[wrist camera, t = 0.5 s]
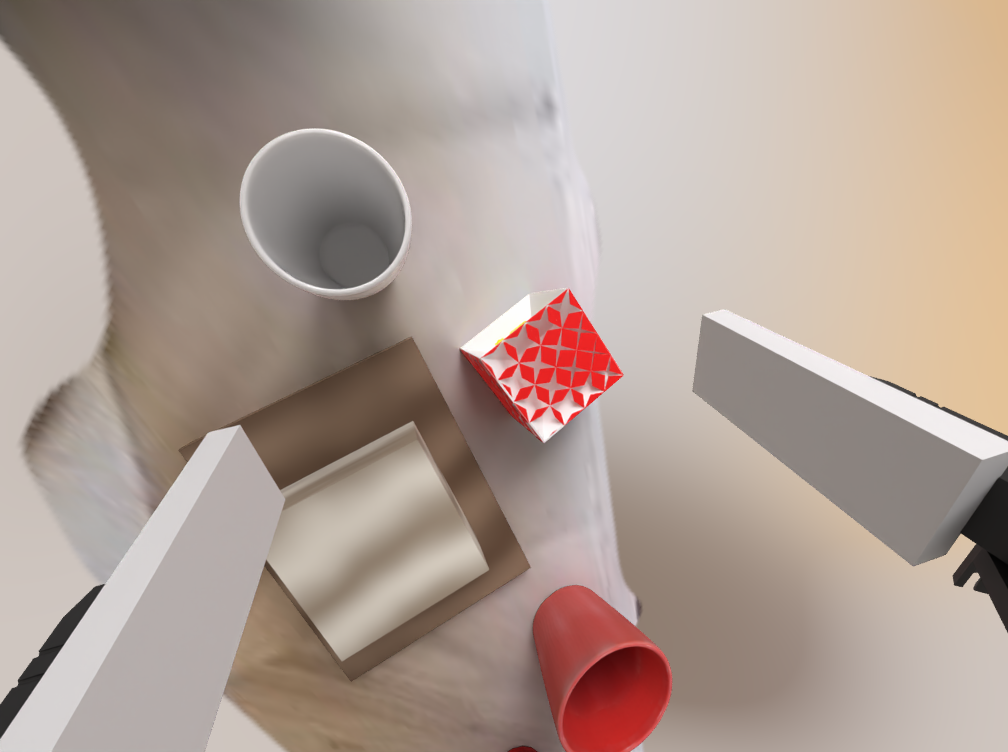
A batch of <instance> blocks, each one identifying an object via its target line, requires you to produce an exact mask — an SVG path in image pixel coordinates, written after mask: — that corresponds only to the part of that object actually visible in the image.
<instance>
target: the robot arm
mask: <svg viewBox="0 0 1008 752" xmlns="http://www.w3.org/2000/svg"><path fill="white" fill-rule="evenodd" d="M693 392H694V393H695V394H697V395H698V396H699V397H700V398H702V399H703V400H704V401H705V402H707V403H708V404H709V405H710V406H712V407H713V408H714V409H716V410H717V411H718V412H719V413H721V414H722V415H723V416H725V417H726V418H727V419H728V420H729V421H731V422H732V423H733V424H734V425H736V426H737V427H738V428H739V429H741V430H742V431H743V432H745V433H746V434H747V435H748V436H749V437H751V438H752V439H753V440H755V441H756V442H757V443H758V444H760V445H761V446H762V447H763V448H765V449H766V450H767V451H768V452H770V453H771V454H772V455H773V456H775V457H776V458H777V459H778V460H780V461H781V462H782V463H784V464H785V465H786V466H787V467H789V468H790V469H791V470H793V471H794V472H795V473H796V474H797V475H799V476H800V477H801V478H802V479H804V480H805V481H806V482H807V483H809V484H810V485H811V486H813V487H814V488H815V489H816V490H818V491H819V492H820V493H821V494H823V495H824V496H825V497H826V498H828V499H829V500H830V501H831V502H833V503H834V504H835V505H836V506H838V507H839V508H840V509H841V510H843V511H844V512H845V513H847V514H848V515H849V516H850V517H851V518H853V519H854V520H855V521H857V522H858V523H859V524H860V525H862V526H863V527H864V528H865V529H867V530H868V531H869V532H870V533H872V534H873V535H874V536H875V537H877V538H878V539H879V540H881V541H882V542H883V543H884V544H886V545H887V546H888V547H889V548H891V549H892V550H893V551H894V552H896V553H897V554H898V555H899V556H901V557H902V558H903V559H905V560H906V561H907V562H908V563H909V564H911V565H912V566H916V565H919V564H921V563H924V562H927V561H930V560H933V559H935V558H938V557H941V556H944V555H946V554H947V552H948V551H949V549H950V548H951V546H952V545H953V544H954V542H955V541H956V539H957V538H958V536H959V535H960V534H963V535H964V536H966V537H967V538H969V539H970V540H972V541H973V542H975V543H976V545H975V546H974V548H973V549H972V551H971V552H970V553H969V554H968V556H967V557H966V558H965V560H964V561H963V562H962V564H961V565H960V566H959V568H958V569H957V570H956V572H955V573H954V575H953V581H954V585H955V586H959V587H963V585H964V584H965V583H966V582H967V580H968V579H969V578H970V576H971V575H972V574H973V573H978V574H979V576H980V579H979V580H978V581H977V582H976V584H975V586H974V590H975V591H978V592H982V593H987V594H989V596H990V598H991V600H992V602H993V604H994V606H995V608H996V610H997V612H998V614H999V616H1000V618H1001V620H1002V622H1003V624H1004V626H1005V628H1006V630H1007V632H1008V436H1007V435H1004V434H1002V433H1000V432H998V431H995V430H993V429H991V428H989V427H987V426H985V425H983V424H980V423H978V422H976V421H974V420H972V419H970V418H967V417H965V416H963V415H961V414H958V413H957V412H954V411H952V410H950V409H948V408H945V407H942V408H940V407H939V406H938V404H937V403H935V402H932V401H930V400H928V399H926V398H924V397H917V396H916V394H915V393H913V392H911V391H909V390H906V389H904V388H902V387H900V386H898V385H895V384H893V383H891V382H888V381H885V380H881V379H877V378H874V377H871V376H867V375H865V374H863V373H861V372H859V371H857V370H854V369H852V368H850V367H848V366H846V365H844V364H842V363H839V362H837V361H835V360H833V359H831V358H829V357H826V356H824V355H822V354H820V353H818V352H816V351H814V350H812V349H809V348H807V347H805V346H803V345H801V344H799V343H797V342H794V341H792V340H790V339H788V338H786V337H784V336H781V335H779V334H777V333H775V332H773V331H771V330H769V329H766V328H764V327H762V326H760V325H758V324H756V323H754V322H751V321H749V320H747V319H745V318H743V317H741V316H738V315H736V314H734V313H732V312H730V311H728V310H726V309H724V310H720V311H716V312H711V313H707V314H703V315H702V321H701V329H700V337H699V344H698V352H697V360H696V368H695V375H694V383H693ZM284 502H285V498H284V496H283V495H282V493H281V491H280V490H279V488H278V486H277V485H276V483H275V482H274V480H273V478H272V477H271V475H270V473H269V472H268V470H267V468H266V467H265V465H264V463H263V462H262V460H261V458H260V457H259V455H258V454H257V452H256V450H255V449H254V447H253V445H252V444H251V442H250V440H249V439H248V437H247V435H246V434H245V432H244V430H243V429H242V427H241V425H237V426H233V427H229V428H225V429H220V430H216V431H212V432H208V433H207V435H206V436H205V438H204V439H203V441H202V442H201V444H200V445H199V447H198V448H197V450H196V451H195V453H194V454H193V456H192V457H191V458H190V460H189V461H188V463H187V464H186V466H185V467H184V469H183V470H182V472H181V473H180V475H179V476H178V478H177V479H176V481H175V482H174V484H173V485H172V487H171V488H170V489H169V491H168V492H167V494H166V495H165V497H164V498H163V500H162V501H161V503H160V504H159V506H158V507H157V509H156V510H155V512H154V513H153V515H152V516H151V517H150V519H149V520H148V522H147V523H146V525H145V526H144V528H143V529H142V531H141V532H140V534H139V535H138V537H137V538H136V540H135V541H134V543H133V544H132V546H131V547H130V548H129V550H128V551H127V553H126V554H125V556H124V557H123V559H122V560H121V562H120V563H119V565H118V566H117V568H116V569H115V571H114V572H113V574H112V575H111V577H110V578H109V579H108V581H107V582H106V584H103V585H99V586H96V587H94V588H93V589H92V590H91V591H90V592H89V593H88V594H87V595H86V596H85V597H84V598H83V599H82V600H81V601H80V602H79V603H78V604H77V605H76V606H75V607H74V608H72V609H71V610H70V611H69V612H68V613H67V614H66V615H65V616H64V617H63V618H62V620H61V621H60V622H59V624H58V625H57V627H56V628H55V629H54V631H53V632H52V634H51V635H50V636H49V638H48V639H47V641H46V642H45V643H44V645H43V646H42V648H41V649H40V650H39V656H38V657H37V658H34V659H33V660H32V662H31V663H30V664H29V665H28V667H27V668H26V670H25V671H24V672H23V674H22V675H21V677H20V678H19V679H18V686H17V687H15V688H12V689H11V691H10V692H9V693H8V695H7V696H6V698H5V699H4V700H3V702H2V703H1V704H0V752H204V751H205V749H206V746H207V742H208V739H209V736H210V733H211V730H212V727H213V724H214V721H215V718H216V714H217V711H218V708H219V705H220V702H221V699H222V696H223V693H224V689H225V686H226V683H227V680H228V677H229V674H230V671H231V668H232V665H233V661H234V658H235V655H236V652H237V649H238V646H239V643H240V640H241V636H242V633H243V630H244V627H245V624H246V621H247V618H248V615H249V612H250V608H251V605H252V602H253V599H254V596H255V593H256V590H257V587H258V583H259V580H260V577H261V574H262V571H263V568H264V565H265V562H266V558H267V555H268V552H269V549H270V546H271V543H272V540H273V537H274V534H275V530H276V527H277V524H278V521H279V518H280V515H281V512H282V509H283V505H284Z"/></svg>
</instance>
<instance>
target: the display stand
mask: <svg viewBox="0 0 1008 752" xmlns="http://www.w3.org/2000/svg"><path fill="white" fill-rule="evenodd" d="M237 425H241V427H242V429H243V430H244V432H245V434H246V435H247V437H248V439H249V440H250V442H251V444H252V445H253V447H254V449H255V450H256V452H257V454H258V455H259V457H260V458H261V460H262V462H263V463H264V465H265V467H266V468H267V470H268V472H269V473H270V475H271V477H272V478H273V480H274V482H275V483H276V485H277V486H278V488H279V490H280V491H281V493H282V495H283V496H284V498H285V502H284V505H283V509H282V512H281V515H280V518H279V521H278V524H277V527H276V530H275V534H274V537H273V540H272V543H271V546H270V549H269V552H268V555H267V558H266V562H265V565H264V566H265V567H266V568H267V570H268V571H269V572H270V574H271V575H272V576H273V578H274V579H275V580H276V582H277V583H278V584H279V586H280V587H281V588H282V590H283V591H284V592H285V594H286V595H287V596H288V598H289V599H290V600H291V602H292V603H293V604H294V606H295V607H296V609H297V610H298V611H299V613H300V614H301V615H302V617H303V618H304V619H305V621H306V622H307V623H308V625H309V626H310V627H311V629H312V630H313V631H314V633H315V634H316V635H317V637H318V638H319V639H320V641H321V642H322V643H323V645H324V646H325V647H326V649H327V650H328V651H329V653H330V654H331V655H332V657H333V658H334V659H335V661H336V662H337V663H338V665H339V666H340V667H341V669H342V670H343V671H344V673H345V674H346V676H347V677H348V678H349V680H350V681H353V680H354V679H356V678H358V677H359V676H361V675H362V674H364V673H365V672H367V671H369V670H370V669H372V668H373V667H375V666H376V665H378V664H380V663H381V662H383V661H384V660H386V659H387V658H389V657H391V656H392V655H394V654H395V653H397V652H398V651H400V650H402V649H403V648H405V647H406V646H408V645H410V644H411V643H413V642H414V641H416V640H417V639H419V638H421V637H422V636H424V635H425V634H427V633H428V632H430V631H432V630H433V629H435V628H436V627H438V626H439V625H441V624H443V623H444V622H446V621H447V620H449V619H451V618H452V617H454V616H455V615H457V614H458V613H460V612H462V611H463V610H465V609H466V608H468V607H469V606H471V605H473V604H474V603H476V602H477V601H479V600H480V599H482V598H484V597H485V596H487V595H488V594H490V593H492V592H493V591H495V590H496V589H498V588H499V587H501V586H503V585H504V584H506V583H507V582H509V581H510V580H512V579H514V578H515V577H517V576H518V575H520V574H521V573H523V572H525V571H526V570H528V569H529V568H531V567H530V565H529V563H528V561H527V559H526V557H525V555H524V553H523V551H522V549H521V547H520V545H519V543H518V541H517V540H516V538H515V536H514V534H513V532H512V530H511V528H510V526H509V524H508V522H507V520H506V518H505V516H504V514H503V512H502V510H501V509H500V507H499V505H498V503H497V501H496V499H495V497H494V495H493V493H492V491H491V489H490V487H489V485H488V483H487V481H486V479H485V477H484V476H483V474H482V472H481V470H480V468H479V466H478V464H477V462H476V460H475V458H474V456H473V454H472V452H471V450H470V448H469V446H468V445H467V443H466V441H465V439H464V437H463V435H462V433H461V431H460V429H459V427H458V425H457V423H456V421H455V419H454V417H453V415H452V414H451V412H450V410H449V408H448V406H447V404H446V402H445V400H444V398H443V396H442V394H441V392H440V390H439V388H438V386H437V384H436V382H435V381H434V379H433V377H432V375H431V373H430V371H429V369H428V367H427V365H426V363H425V361H424V359H423V357H422V355H421V353H420V351H419V350H418V348H417V346H416V344H415V342H414V340H413V338H412V337H410V338H407V339H405V340H403V341H401V342H399V343H397V344H395V345H393V346H391V347H389V348H387V349H385V350H382V351H380V352H378V353H376V354H374V355H372V356H370V357H368V358H366V359H364V360H362V361H360V362H357V363H355V364H353V365H351V366H349V367H347V368H345V369H343V370H341V371H339V372H337V373H335V374H332V375H330V376H328V377H326V378H324V379H322V380H320V381H318V382H316V383H314V384H312V385H309V386H307V387H305V388H303V389H301V390H299V391H297V392H295V393H293V394H291V395H289V396H287V397H284V398H282V399H280V400H278V401H276V402H274V403H272V404H270V405H268V406H266V407H264V408H262V409H259V410H257V411H255V412H253V413H251V414H249V415H247V416H245V417H243V418H241V419H239V420H237V421H234V422H232V423H230V424H228V425H226V426H224V427H222V428H220V429H225V428H229V427H233V426H237ZM220 429H218V430H220ZM205 436H206V435H205ZM205 436H203V437H201V438H199V439H197V440H195V441H193V442H191V443H189V444H187V445H186V446H184V447H182V448H181V449H179V452H180V453H181V454H182V456H183V457H184V458H185V460H186V461H187V462H188V461H189V460H190V458H191V457H192V456H193V454H194V453H195V451H196V450H197V448H198V447H199V445H200V444H201V442H202V441H203V439H204V438H205Z"/></svg>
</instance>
